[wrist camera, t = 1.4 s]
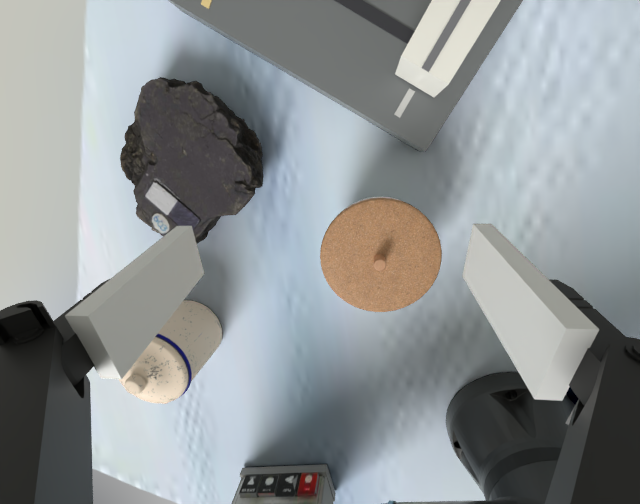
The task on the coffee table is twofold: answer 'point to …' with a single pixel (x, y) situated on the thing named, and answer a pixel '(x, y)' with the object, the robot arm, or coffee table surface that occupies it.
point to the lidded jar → (380, 254)
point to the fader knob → (443, 42)
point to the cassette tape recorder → (285, 485)
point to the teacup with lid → (175, 354)
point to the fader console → (351, 53)
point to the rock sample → (189, 158)
